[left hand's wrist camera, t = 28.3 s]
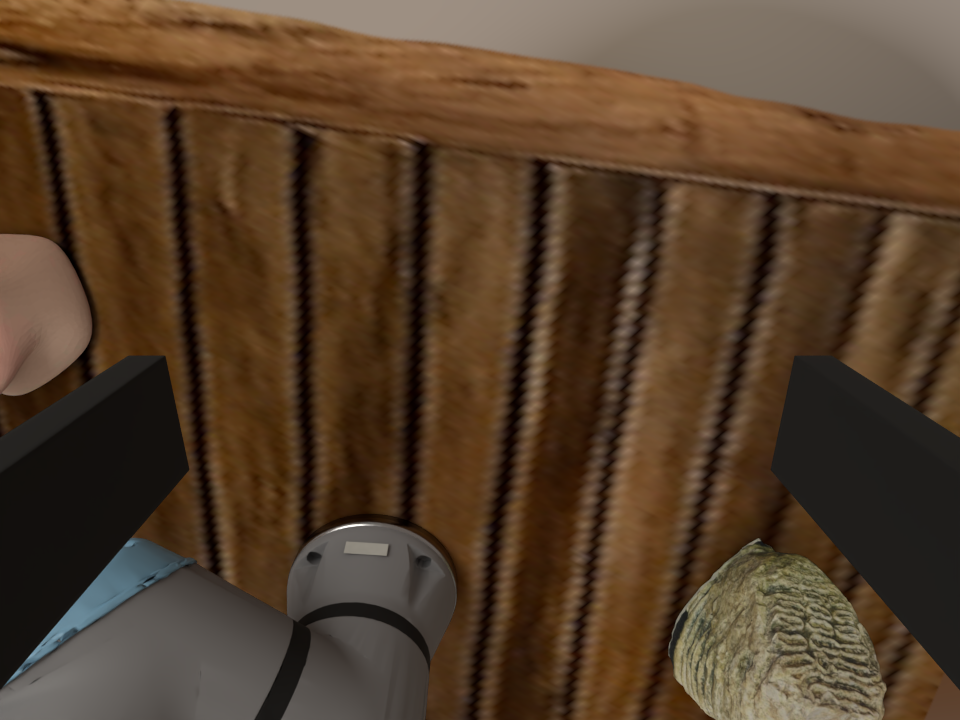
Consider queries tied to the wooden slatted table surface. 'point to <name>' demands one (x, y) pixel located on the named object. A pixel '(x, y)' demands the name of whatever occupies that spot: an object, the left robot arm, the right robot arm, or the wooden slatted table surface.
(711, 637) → the fossil
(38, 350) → the anatomical model
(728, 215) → the wooden slatted table surface
